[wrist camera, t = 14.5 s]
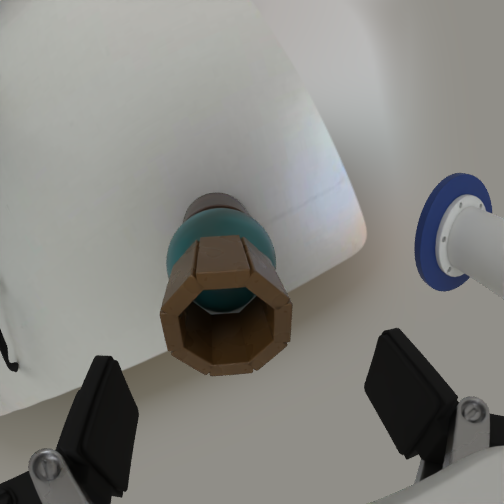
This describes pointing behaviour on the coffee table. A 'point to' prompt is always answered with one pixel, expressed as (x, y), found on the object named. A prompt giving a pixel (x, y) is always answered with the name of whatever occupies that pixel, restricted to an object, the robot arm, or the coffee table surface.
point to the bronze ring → (230, 324)
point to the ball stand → (219, 224)
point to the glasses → (1, 346)
